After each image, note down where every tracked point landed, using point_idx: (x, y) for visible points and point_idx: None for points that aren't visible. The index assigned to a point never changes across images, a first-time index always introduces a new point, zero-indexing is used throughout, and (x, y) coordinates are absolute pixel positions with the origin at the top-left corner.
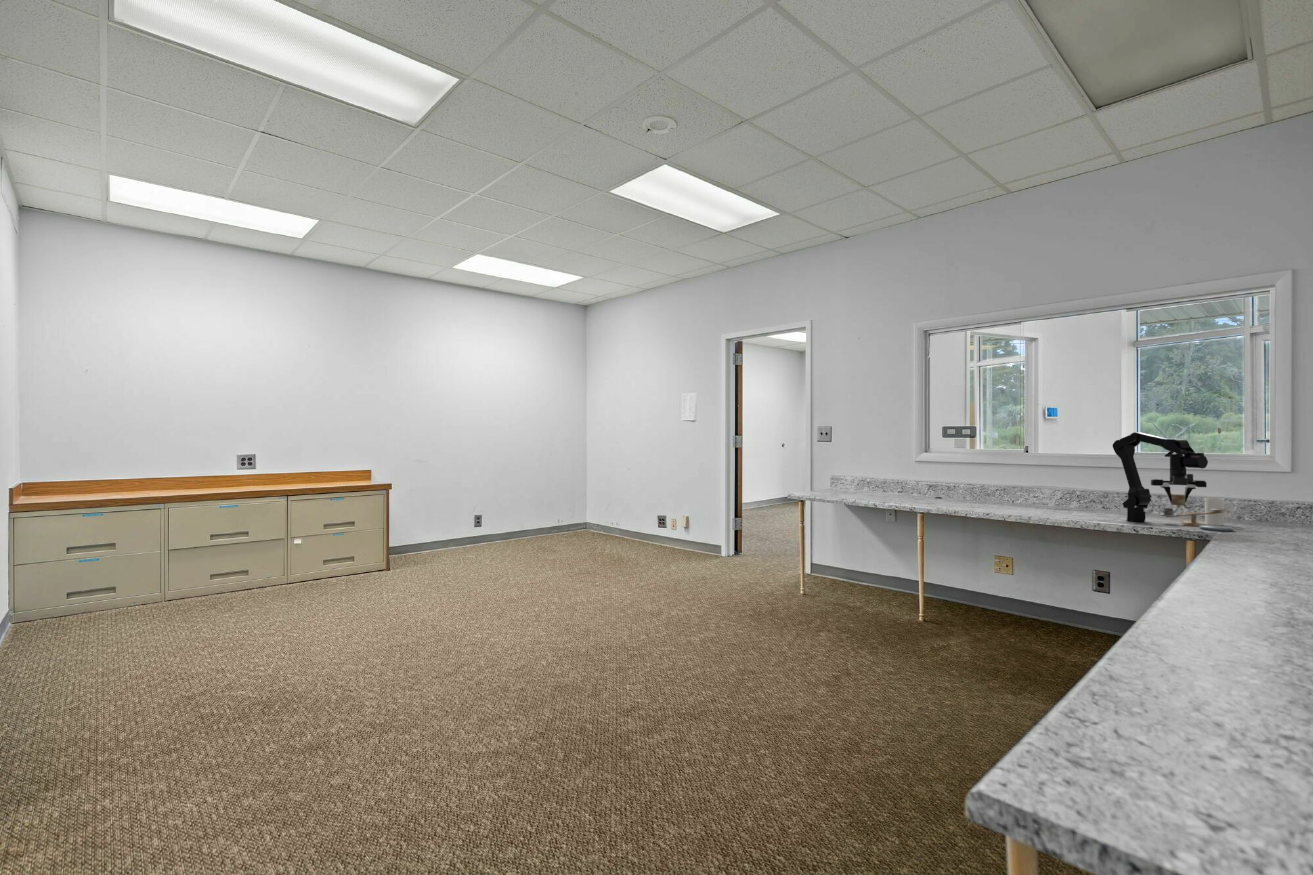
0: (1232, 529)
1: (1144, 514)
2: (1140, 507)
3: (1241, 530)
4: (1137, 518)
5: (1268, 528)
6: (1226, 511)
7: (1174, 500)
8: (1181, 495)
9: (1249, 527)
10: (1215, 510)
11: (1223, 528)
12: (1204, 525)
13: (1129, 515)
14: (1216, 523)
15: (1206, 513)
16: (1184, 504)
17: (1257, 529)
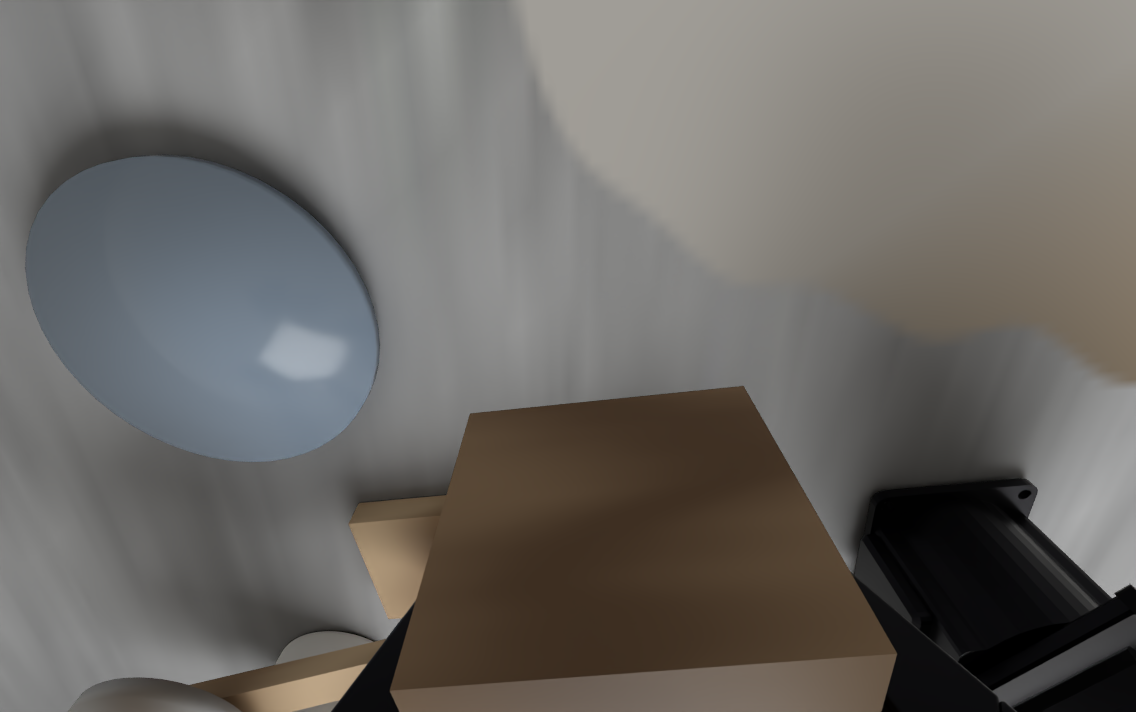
0: (36, 266)
1: (907, 589)
2: (1010, 669)
3: (52, 419)
4: (956, 518)
5: (4, 663)
6: (80, 695)
7: (724, 474)
8: (529, 668)
9: (110, 646)
10: (186, 694)
11: (93, 208)
12: (336, 390)
13: (1047, 553)
14: (309, 646)
15: (312, 665)
16: (479, 426)
17: (14, 568)
